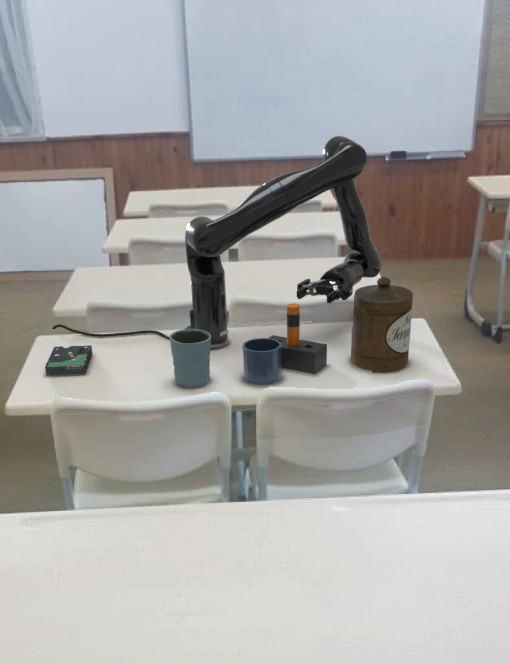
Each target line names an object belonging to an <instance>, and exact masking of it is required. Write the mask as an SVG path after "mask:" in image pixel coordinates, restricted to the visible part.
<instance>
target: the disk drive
mask: <svg viewBox="0 0 510 664" xmlns="http://www.w3.org/2000/svg"><path fill="white" fill-rule="evenodd" d="M92 356H93V347H92V345H90V344H89V345H88V344H87V345H70V346H68V347H64V346H60V345H59V346H53V348H52V351H51V353H50V355H49V358H48V359H47V362H46V364H45V365H44V368H45V369H44V370H45V375H46V376H51V377H53V376H54V377H55V376H77V375H81V376H82V375H86V374H87V370H88V368H89V365H90V362H91V359H92Z"/></svg>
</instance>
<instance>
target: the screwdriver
mask: <svg viewBox="0 0 510 664" xmlns="http://www.w3.org/2000/svg"><path fill="white" fill-rule="evenodd" d="M300 310H301V309H300V304H299V303H295V302H294V303H288V304H287V305H286V337H287V345H289V346H297V345H299V344H300V340H301V339H300V335H301V334H300V333H301V332H300V331H301V330H300V327H301V324H300V323H301V321H300V320H301V314H300V313H301V311H300Z"/></svg>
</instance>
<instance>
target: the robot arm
mask: <svg viewBox="0 0 510 664" xmlns="http://www.w3.org/2000/svg"><path fill="white" fill-rule="evenodd" d="M367 164H368V154H367V151H366V149H365V148H364V147H363V146H362V145H360V144H359V143H358V142H356V141H354V140H352V139H350V138H348V137H346V136H342V135H335V136H333V137H331V138H330V139H329V140H327V142H326V143H325V145H324V147H323V150H322V161H321V162H320V163H318V164H316V165H314V166H311V167H308V168H304V169H303V168H302V169H299V170H294V171H290V172H286V173H283V174H280V175H277V176H276V177H274V178H272V179H270V180H269V181H268V180H267V182H265V183H263V184H262V185H260V186H259V187H257V188H256V189H254V190H253V191H252V193H250V194H249V195H248V197H246V198H245V200H243V202H242V203H241V204H240V205H239V206H237V208H235V209H234V210H232V211H230V212H229V213H226V214H225V215H223V216H220V217H218V218H216V219H214V220H213V219H212V218H210V217H208V216H204V215H203V216H197V217H195V218H193V219H191V220H190V222H189V223H188V224H187V226H186V228H185V232H184V241H185V242H184V243H185V255H186V264H187V270H188V273H189V277H190V289H191V290H190V291H191V305H192V308H191V309H190V310H189V321H190V322H189V323H190V325H188V326H187V327H185V328H184V329H200V330H204V331H207V332H208V333H210V335H211V346H210V350H212V349H213V350H214V349H215V350H216V349H220V348H223V347H225V346H227V345H228V343H229V335H228V334H229V329H228V309H227V308H228V307H227V290H226V272H225V269H224V266H223V263H222V260H221V259H222V258H221V255H222V254H224V253H225V252H227V251H228V250H229V249H231V248H232V247H234V246H235V245H236V244H237V243H239V242H240V241H242V240H243V239H245V238H247V237H248V236H250V235H251V234H253V233H255V232H257V231H259V230H261V229H263V228H264V227H266V226H268V225H270V224H271V223H274V222H275V221H277V220H279V219H281V218H282V217H284V216H286V215H287V214H290V213H291V212H293V211H294V210H296V209H297V208H299V207H300V206H303V205H304V204H307V203H308V202H309V201H312V200H313V199H315V198H317V197H318V196H320V195H322V194H324V193H326V192H328V191H330V190H332V189H333V192H334V196H335V199H336V203H337V207H338V211H339V215H340V219H341V224H342V230H343V235H344V241H345V245H346V247H347V248H348V249H350V250H352V252H349V253H347V254H346V255H345V257H344V259H343V261H342V262H341V263H339V264H337V265H335V266H334V267H332V268H330V269H329V270H326V271H325V272H323V274H322V275H321V277H320V278H319V280H315V281H311V279H310V278H307V279H304V280H302V281H300V282H299V283H297V284H296V289H297V290H296V298H297V300H301V299H303V298H304V297H306V296H311V297H316V296H325V297H326V304H331V303H333V302H335V301H340V299H341V300H342V301H346V300H348V299H349V298H350V297H351V296H352V295H354V294H353V292H354V286H355V285H357V284H358V283H360V282H361V281H362V279H363V278H367V279H370V278H371V279H373V278H376V277H377V276H378V275H379V274H380V272H381V270H382V261H381V256H380V254H379V251H378V249H377V247H376V246H375V244H374V241H373V239H372V237H371V233H370V232H371V231H370V227H369V221H368V216H367V213H366V210H365V207H364V204H363V202H362V200H361V198H360V195H359V193H358V190H357V186H356V184H355V179H356V178H357V177H359V176H360V175H361V174H362V173H363V171H364V170H365V168H366V166H367ZM57 328H63V329H65V330H67V331H69V332H71V333H75V334H79V335H83V336H86V337H94V338H106V337H119V336H120V337H121V336H132V335H140V334H156V335H159V336H161V337H162V338H164V339H166V340H168V341H170V336H168V335H166V334H164V333H163V332H161V331H158V330H152V329H151V330H148V329H147V330H146V329H145V330H136V331H126V332H125V331H124V332H113V333H93V332H92V333H90V332H85V331H81V330H77V329H74V328H71V327H68V326H66V325H64V324H60V323H57V324H55V325H53V326H52V327H51V329H52V330H56V329H57Z"/></svg>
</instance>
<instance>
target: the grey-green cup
mask: <svg viewBox="0 0 510 664" xmlns="http://www.w3.org/2000/svg"><path fill="white" fill-rule="evenodd" d="M169 337H170V340H169V344H170V351H171V356H172V365H173V374H174V375H173V376H174V382H175V383H176V385H177V386H178V387H180V388H184V389H197V388H203V387H205V386H206V385H209V382H210V379H211V378H210V375H211V369H210V368H211V367H210V365H211V361H210V360H211V357H210V356H211V349H210V346H211V335H210V333H208V332H207V331H204V330H200V329H185V328H184V329H178V330H176V331H174V332H172V333H170V335H169Z"/></svg>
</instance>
